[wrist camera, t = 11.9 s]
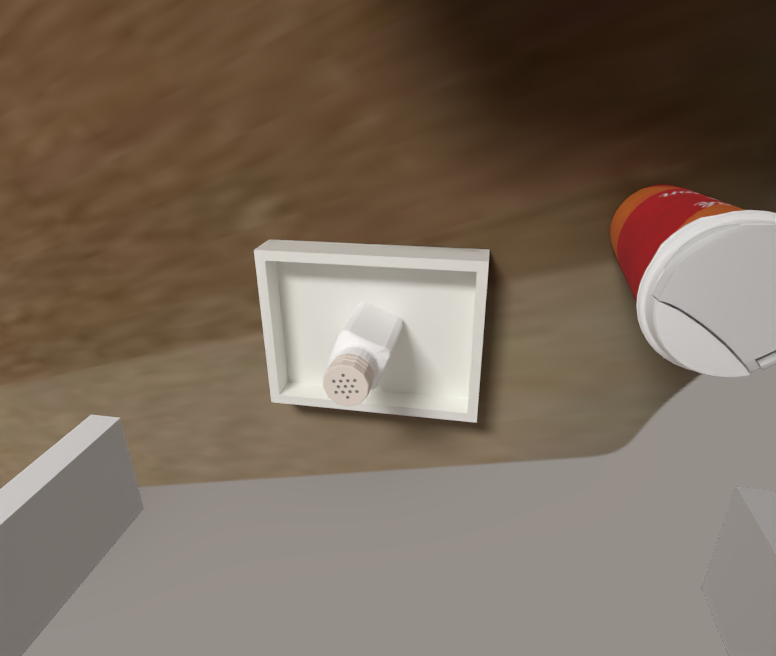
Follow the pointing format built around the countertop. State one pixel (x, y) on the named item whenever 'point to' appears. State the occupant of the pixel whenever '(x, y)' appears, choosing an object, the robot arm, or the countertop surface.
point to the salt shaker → (360, 354)
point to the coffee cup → (700, 278)
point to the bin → (390, 293)
